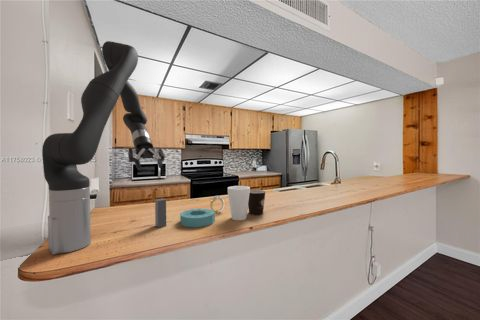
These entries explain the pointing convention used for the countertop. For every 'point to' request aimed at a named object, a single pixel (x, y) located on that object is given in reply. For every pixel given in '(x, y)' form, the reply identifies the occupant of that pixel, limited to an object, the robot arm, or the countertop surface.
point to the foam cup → (238, 201)
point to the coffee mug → (256, 202)
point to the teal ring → (197, 217)
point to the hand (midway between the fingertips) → (150, 167)
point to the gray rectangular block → (160, 212)
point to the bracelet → (215, 200)
